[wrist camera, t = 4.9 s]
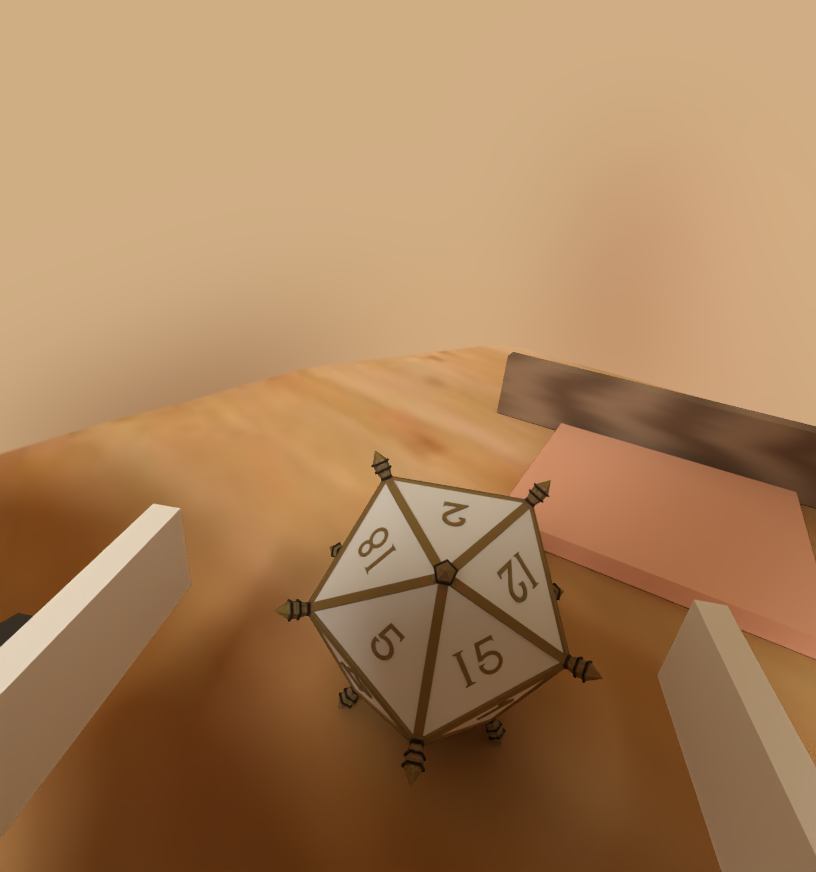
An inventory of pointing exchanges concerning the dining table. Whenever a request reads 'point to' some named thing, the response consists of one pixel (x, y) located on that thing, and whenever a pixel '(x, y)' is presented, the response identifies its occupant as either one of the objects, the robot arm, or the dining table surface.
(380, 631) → the game die
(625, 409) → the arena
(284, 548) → the dining table surface
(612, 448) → the mat
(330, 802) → the dining table surface
